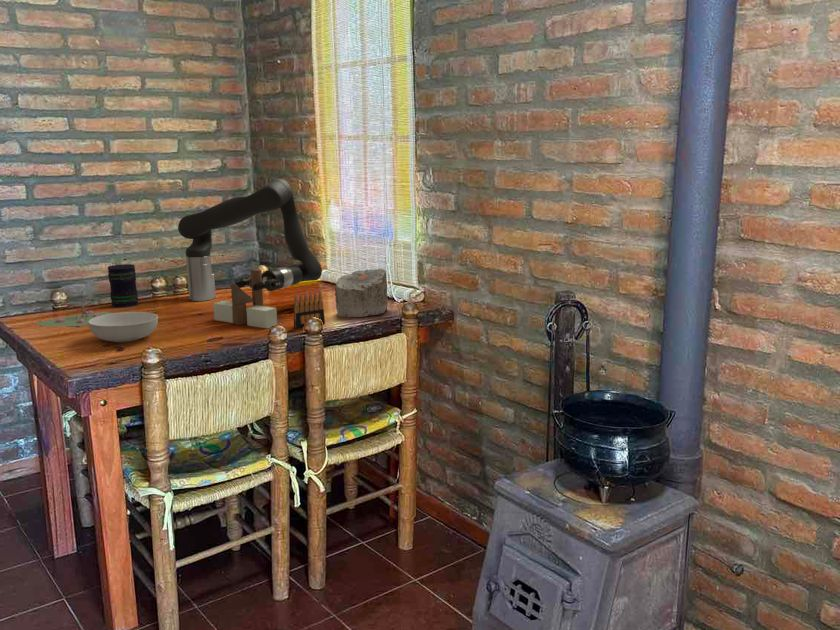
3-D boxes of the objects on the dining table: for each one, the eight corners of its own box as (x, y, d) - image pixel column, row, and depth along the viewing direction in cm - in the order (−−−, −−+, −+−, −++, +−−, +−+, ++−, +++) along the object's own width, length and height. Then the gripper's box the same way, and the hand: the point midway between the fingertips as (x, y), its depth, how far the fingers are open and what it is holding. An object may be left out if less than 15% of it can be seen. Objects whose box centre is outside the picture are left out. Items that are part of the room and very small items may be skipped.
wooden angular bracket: (233, 323, 272) (229, 271, 268) (261, 318, 279) (258, 268, 275) (238, 325, 270) (234, 273, 265) (266, 320, 276) (263, 269, 272)
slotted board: (225, 317, 282) (223, 300, 281) (277, 325, 269) (276, 308, 267) (214, 319, 278) (213, 303, 277) (266, 328, 265) (265, 310, 263)
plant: (38, 333, 266) (35, 306, 264) (32, 321, 283) (29, 296, 281) (117, 323, 278) (114, 297, 276) (106, 312, 296) (104, 288, 294)
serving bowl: (159, 344, 248) (157, 322, 246) (87, 350, 242) (84, 328, 240) (160, 328, 267) (158, 308, 266) (93, 334, 261) (91, 313, 260)
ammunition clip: (322, 322, 272) (321, 288, 269) (325, 323, 270) (323, 289, 267) (293, 327, 266) (291, 292, 263) (296, 328, 264) (294, 292, 262)
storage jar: (106, 305, 304) (101, 259, 300) (128, 301, 312) (123, 255, 307) (122, 308, 298) (117, 261, 294) (144, 303, 306) (139, 257, 302)
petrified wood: (335, 319, 276) (333, 276, 273) (336, 308, 293) (334, 268, 290) (389, 317, 278) (388, 275, 274) (387, 306, 295) (386, 266, 291)
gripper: (262, 266, 287) (229, 273, 274) (291, 270, 280) (259, 277, 266) (263, 287, 289) (230, 295, 276) (293, 290, 281) (260, 299, 268)
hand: (244, 286), depth 271 cm, fingers open, 8 cm apart
